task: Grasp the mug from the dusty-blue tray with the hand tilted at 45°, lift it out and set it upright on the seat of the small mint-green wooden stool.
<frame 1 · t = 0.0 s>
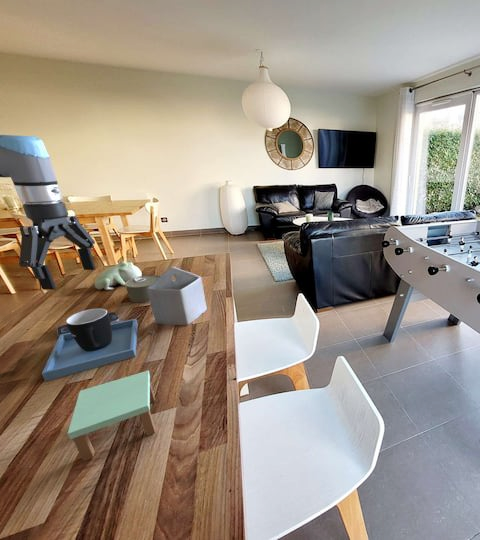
hand: (71, 278, 81), 22 cm above the breakfast bar, tool pointing down, fingers open, 13 cm apart
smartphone: (89, 325, 96), on the breakfast bar
stool: (123, 425, 62), on the breakfast bar
tray: (98, 348, 86), on the breakfast bar
mug: (97, 348, 85), resting on tray
planter: (185, 320, 102), on the breakfast bar
figurine: (120, 284, 126), on the breakfast bar
can: (147, 296, 117), on the breakfast bar
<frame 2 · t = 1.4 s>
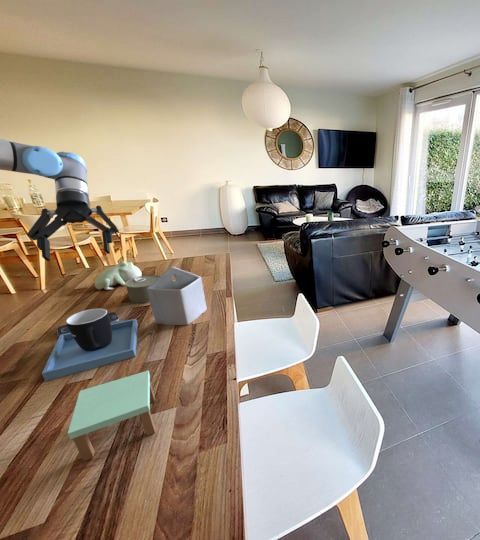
hand: (77, 255, 85), 26 cm above the breakfast bar, tool tilted 45°, fingers open, 13 cm apart
nothing on the breakfast bar moved.
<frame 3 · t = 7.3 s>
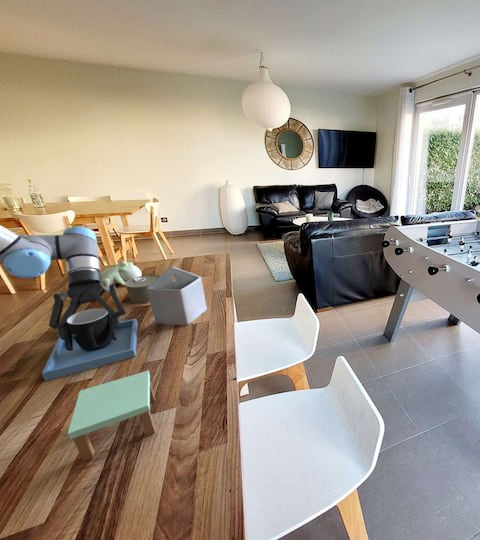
hand: (92, 344, 82), 4 cm above the breakfast bar, tool tilted 45°, fingers closed on mug, 9 cm apart
mug: (97, 347, 85), resting on tray, touching gripper
everything else where it was.
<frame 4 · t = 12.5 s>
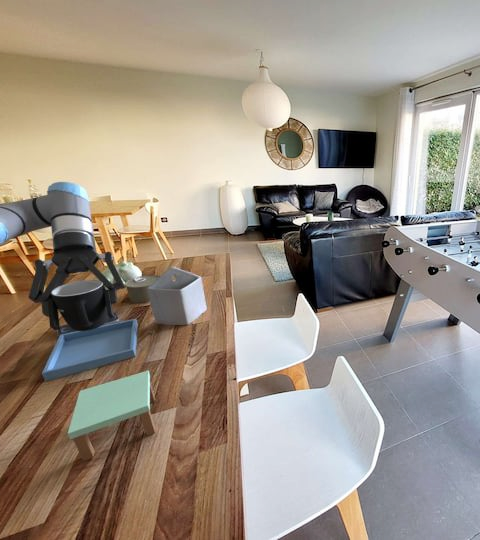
hand: (84, 321, 66), 19 cm above the breakfast bar, tool tilted 45°, fingers closed on mug, 9 cm apart
mug: (91, 327, 70), point 15 cm above the breakfast bar, touching gripper
everything else where it was.
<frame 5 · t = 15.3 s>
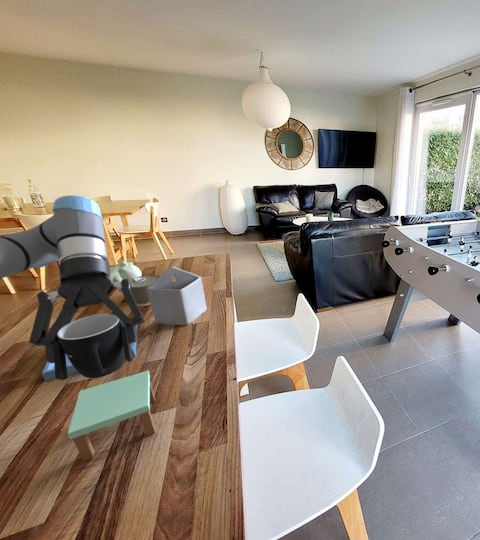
hand: (97, 368, 54), 18 cm above the breakfast bar, tool tilted 45°, fingers closed on mug, 9 cm apart
mug: (104, 372, 57), point 14 cm above the breakfast bar, touching gripper
everything else where it was.
when the fingers open (11 cm above the breakfast bar, at t = 17.7 s): mug stays where it is, resting on stool.
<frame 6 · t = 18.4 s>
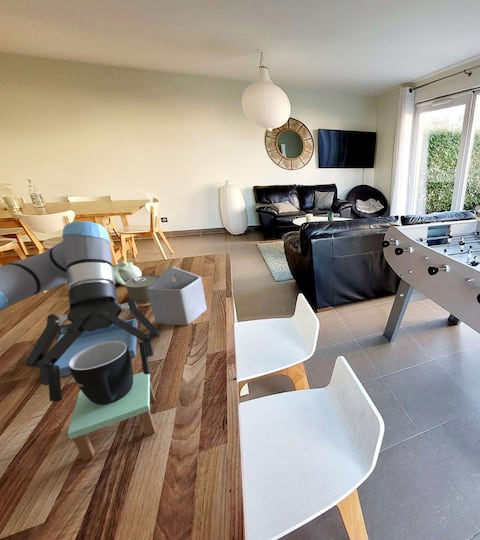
hand: (104, 386, 56), 13 cm above the breakfast bar, tool tilted 45°, fingers open, 13 cm apart
mug: (113, 398, 60), point 8 cm above the breakfast bar, touching stool
everything else where it was.
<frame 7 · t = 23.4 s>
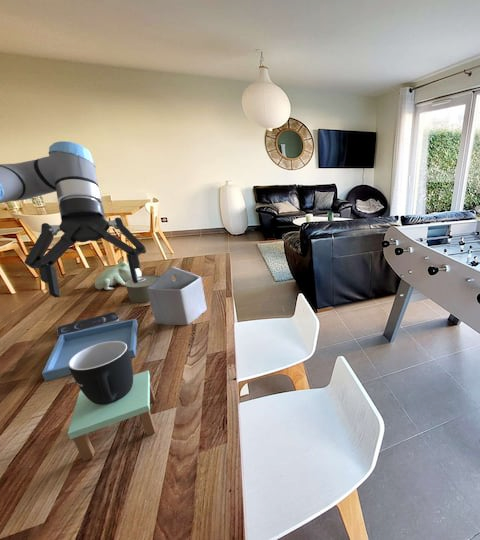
hand: (97, 288, 64), 27 cm above the breakfast bar, tool tilted 40°, fingers open, 13 cm apart
nothing on the breakfast bar moved.
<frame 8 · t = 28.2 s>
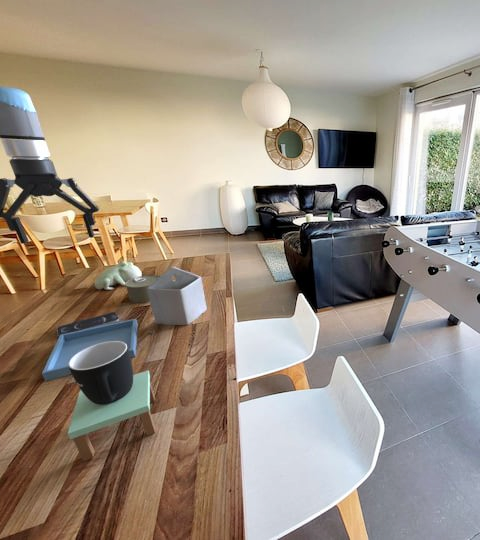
hand: (60, 239, 80), 32 cm above the breakfast bar, tool pointing down, fingers open, 13 cm apart
nothing on the breakfast bar moved.
at the end: mug inside the target area on the stool (0.1 cm from its centre), point 7.8 cm above the stool's base; mug tilted 0°; the gripper is holding nothing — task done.
